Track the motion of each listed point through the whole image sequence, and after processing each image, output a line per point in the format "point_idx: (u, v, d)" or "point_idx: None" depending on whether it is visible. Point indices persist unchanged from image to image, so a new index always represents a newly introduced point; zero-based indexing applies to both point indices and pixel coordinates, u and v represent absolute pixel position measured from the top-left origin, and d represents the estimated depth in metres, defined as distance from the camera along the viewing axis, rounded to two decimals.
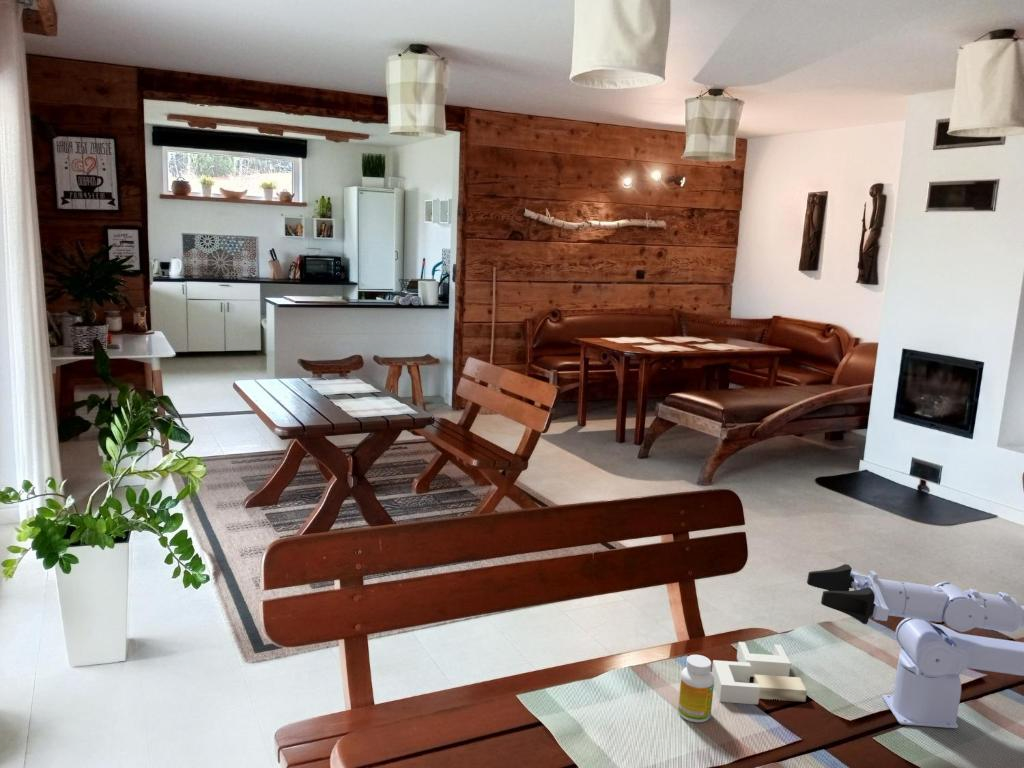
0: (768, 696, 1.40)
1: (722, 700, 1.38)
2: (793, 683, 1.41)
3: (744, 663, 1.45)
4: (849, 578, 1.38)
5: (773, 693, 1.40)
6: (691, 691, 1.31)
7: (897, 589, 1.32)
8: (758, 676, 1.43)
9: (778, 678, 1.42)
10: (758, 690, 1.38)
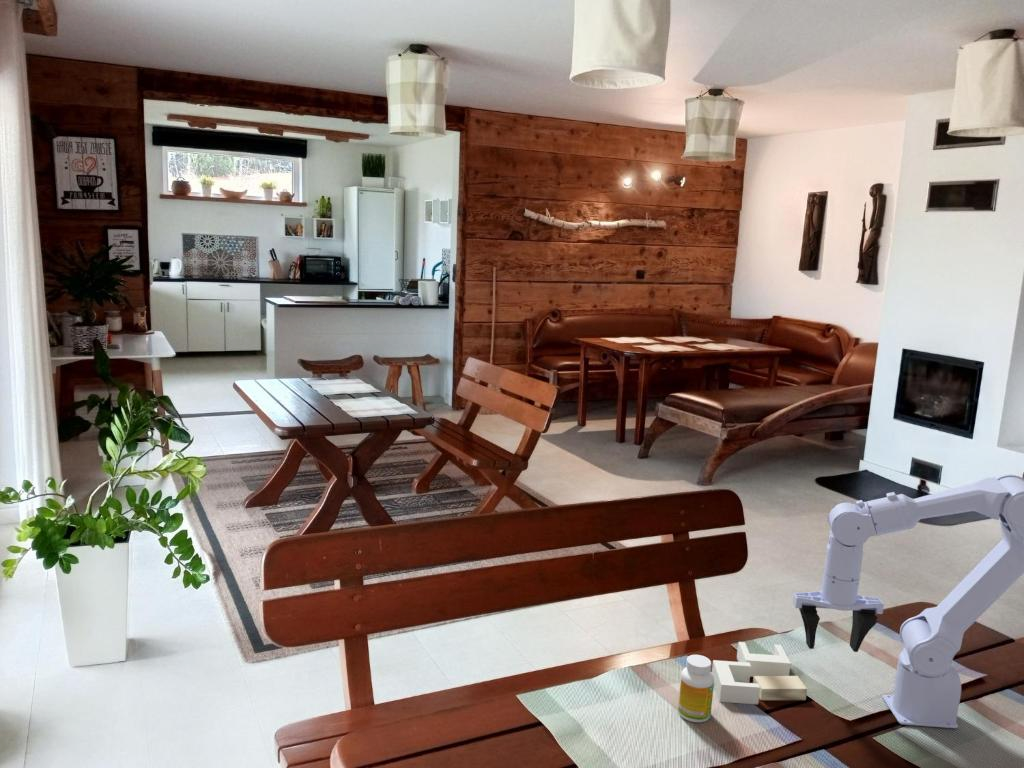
0: (770, 697, 1.40)
1: (722, 700, 1.38)
2: (793, 683, 1.41)
3: (744, 663, 1.45)
4: (856, 610, 1.39)
5: (775, 693, 1.39)
6: (691, 691, 1.31)
7: None
8: (758, 677, 1.42)
9: (777, 678, 1.42)
10: (758, 690, 1.38)
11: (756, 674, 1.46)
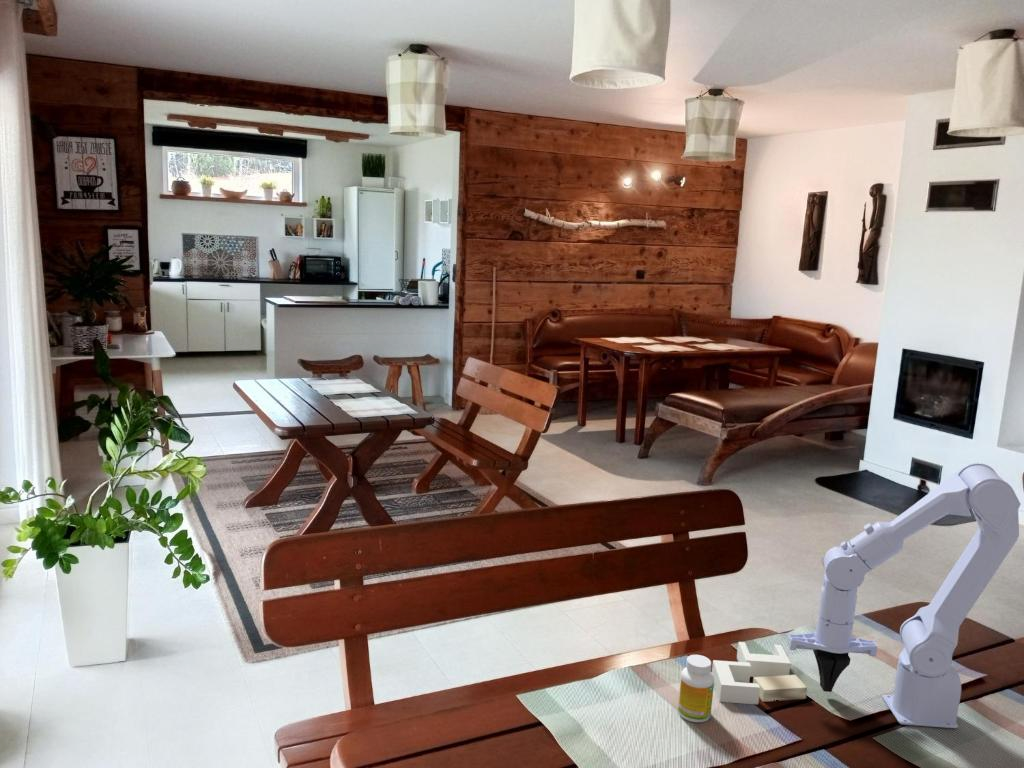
0: (772, 698, 1.39)
1: (722, 700, 1.38)
2: (792, 682, 1.42)
3: (744, 663, 1.45)
4: None
5: (777, 694, 1.39)
6: (691, 691, 1.31)
7: None
8: (758, 678, 1.42)
9: (776, 678, 1.42)
10: (758, 690, 1.38)
11: (756, 674, 1.46)
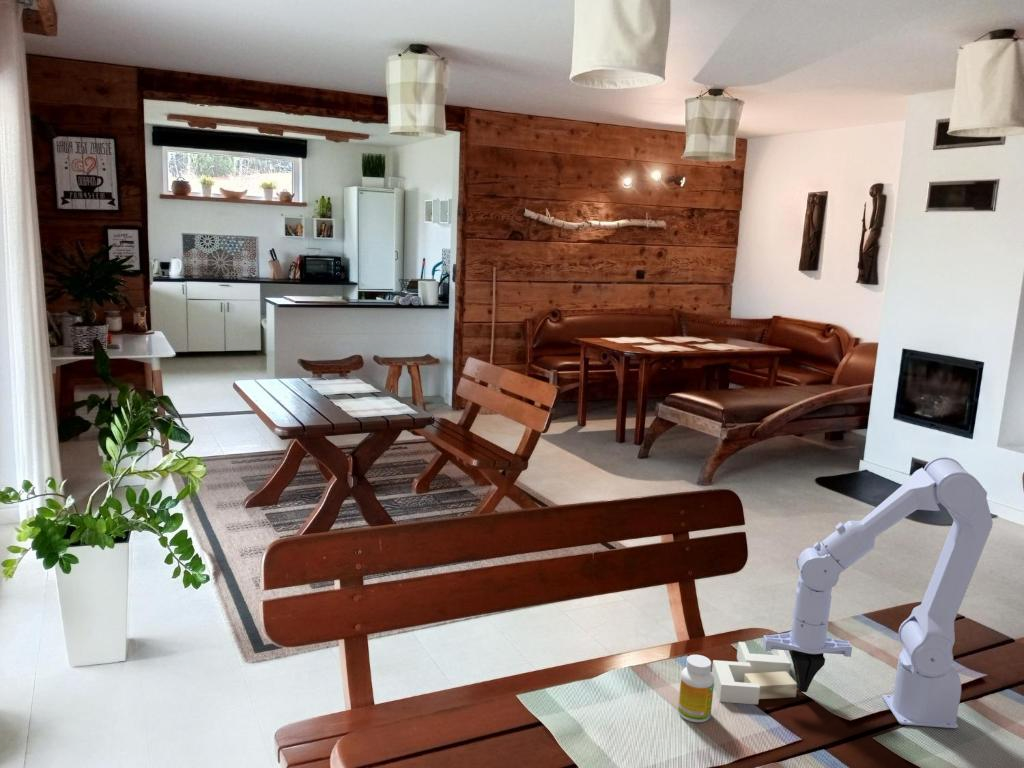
0: (762, 694, 1.40)
1: (722, 700, 1.38)
2: (783, 678, 1.42)
3: (744, 663, 1.45)
4: None
5: (767, 690, 1.40)
6: (691, 691, 1.31)
7: None
8: (748, 675, 1.43)
9: (767, 675, 1.43)
10: (758, 690, 1.38)
11: None
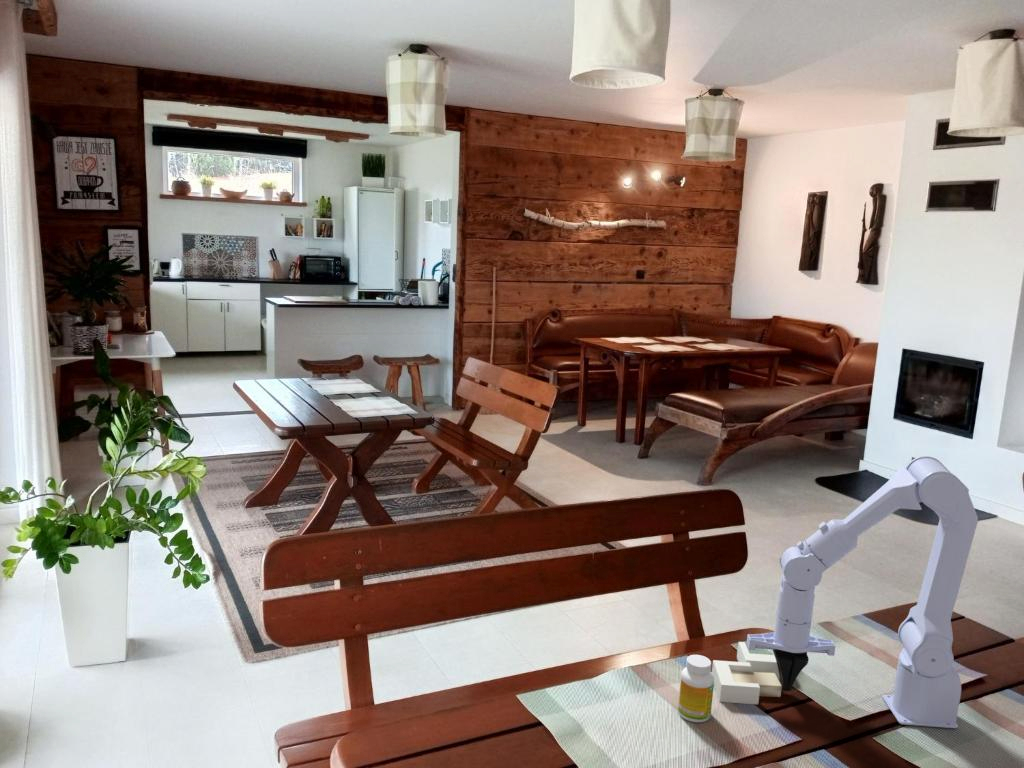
0: None
1: (722, 700, 1.38)
2: (768, 679, 1.42)
3: (744, 663, 1.45)
4: None
5: None
6: (691, 691, 1.31)
7: None
8: (734, 672, 1.44)
9: (753, 674, 1.43)
10: (758, 690, 1.38)
11: None
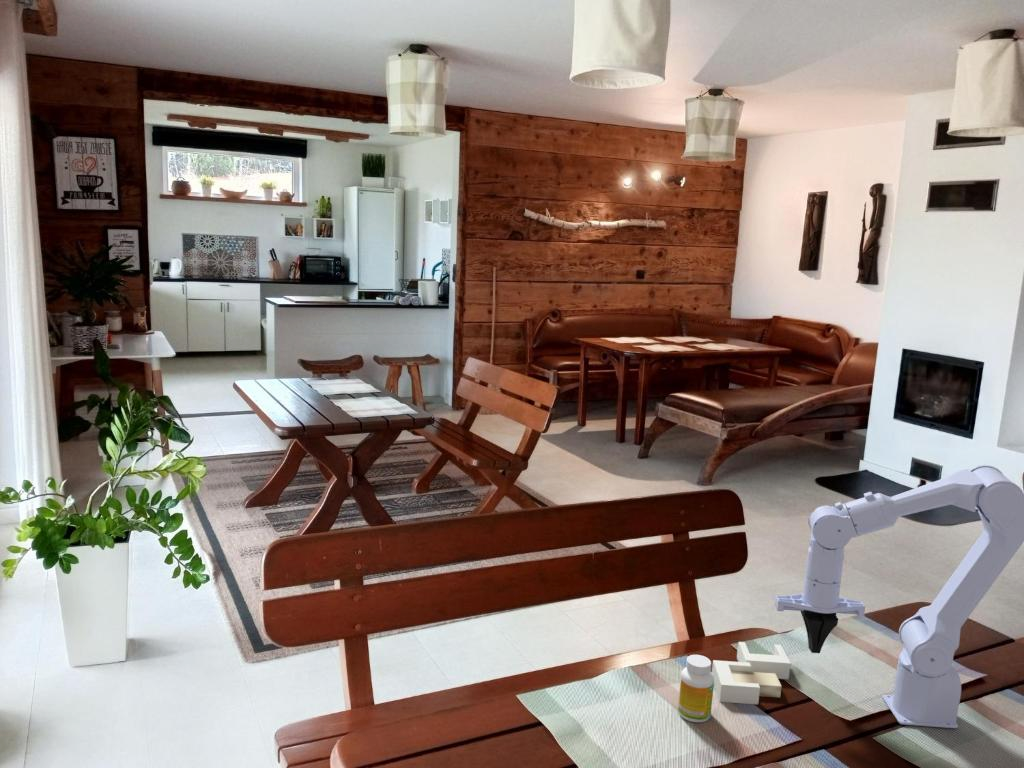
0: None
1: (722, 700, 1.38)
2: (768, 679, 1.42)
3: (744, 663, 1.45)
4: None
5: None
6: (691, 691, 1.31)
7: None
8: (734, 672, 1.44)
9: (753, 674, 1.43)
10: (758, 690, 1.38)
11: None
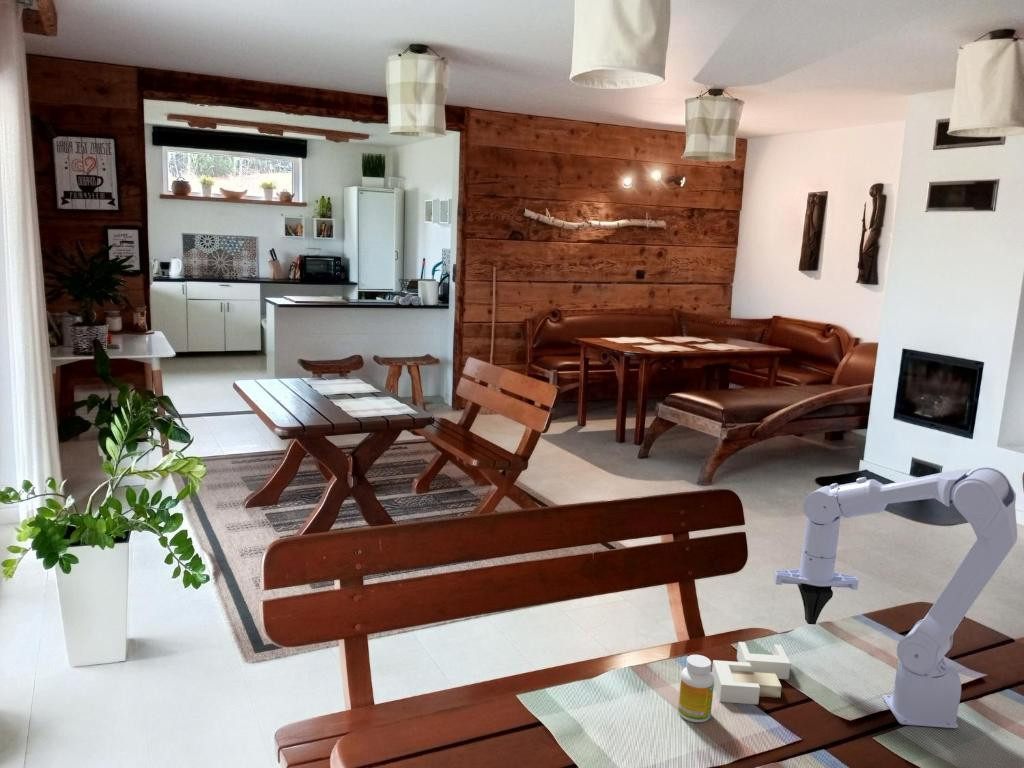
0: None
1: (722, 700, 1.38)
2: (768, 680, 1.42)
3: (744, 663, 1.45)
4: (814, 585, 1.48)
5: None
6: (691, 691, 1.31)
7: None
8: (734, 672, 1.44)
9: (753, 674, 1.43)
10: (758, 690, 1.38)
11: None
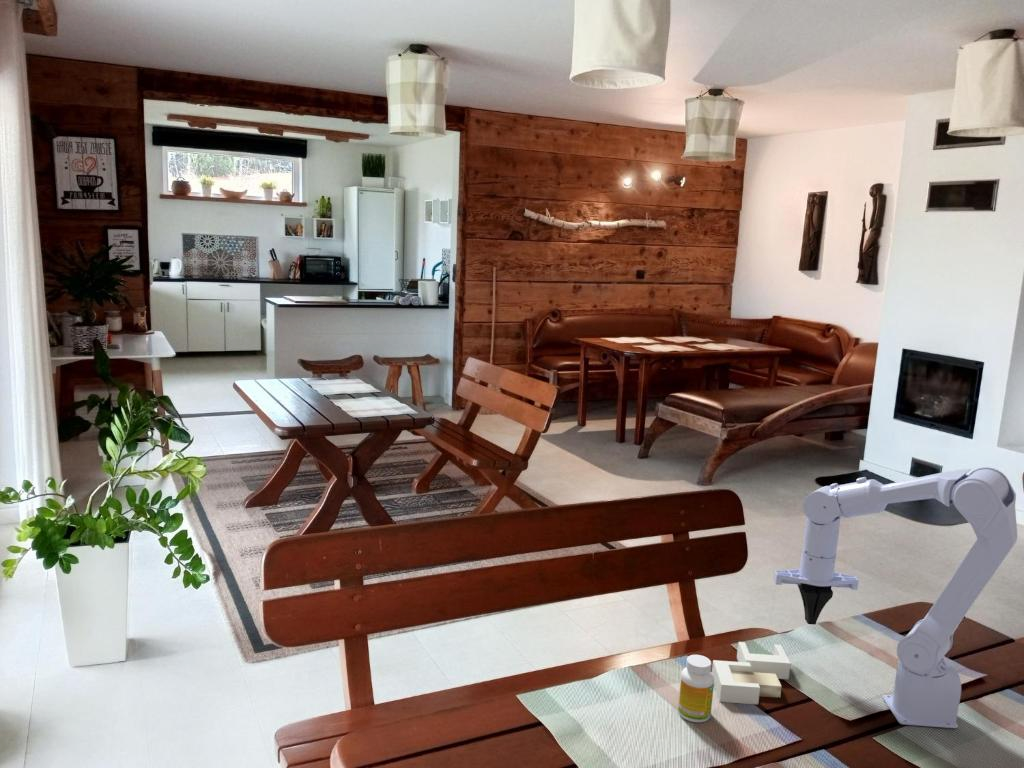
0: None
1: (722, 700, 1.38)
2: (768, 679, 1.42)
3: (744, 663, 1.45)
4: (814, 585, 1.48)
5: None
6: (691, 691, 1.31)
7: None
8: (734, 672, 1.44)
9: (754, 674, 1.43)
10: (758, 690, 1.38)
11: None
